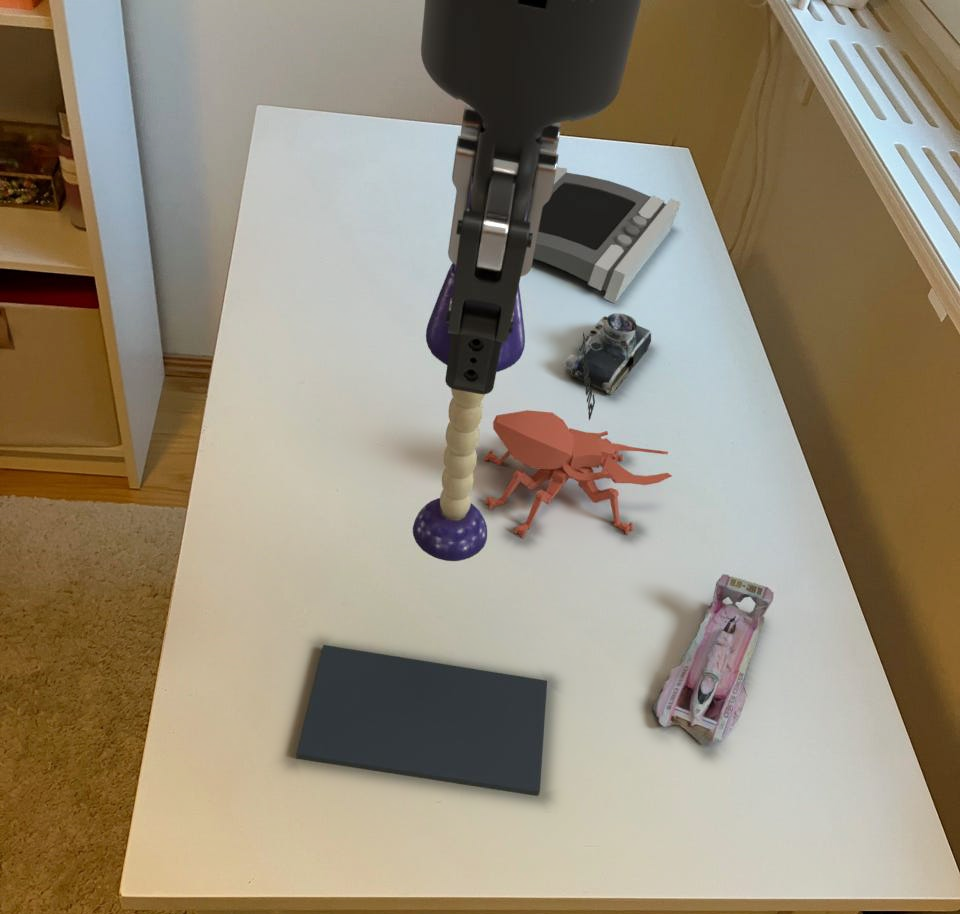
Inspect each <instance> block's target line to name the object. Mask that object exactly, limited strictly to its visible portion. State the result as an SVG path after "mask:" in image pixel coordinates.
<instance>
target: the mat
mask: <svg viewBox="0 0 960 914" xmlns="http://www.w3.org/2000/svg"><path fill="white" fill-rule="evenodd" d="M319 656H320V657H319V661H318V665H317V668H316V673H315V677H314V681H313V685H312V689H311V693H310V697H309V701H308V705H307V709H306V714H305V718H304V722H303V726H302V730H301V734H300V738H299V743H298V746H297V750H296V759H297V760H304V761H311V762H317V763H322V764H329V765H336V766H344V767H350V768H355V769H362V770H369V771H375V772H381V773H382V772H383V773H388V774H395V775H400V776H401V775H402V776H407V777H414V778H420V779H428V780H433V781H440V782H447V783H452V784H458V785H466V786H472V787H479V788H485V789H491V790H497V791H505V792H509V793H510V792H512V793H516V794H517V793H518V794H525V795H531V796H537V797H538V796H539V795H540V793H541V781H542V766H543V752H544V736H545V735H544V734H545V720H546V708H547V707H546V706H547V705H546V704H547V691H548V680H545V679H539V678H532V677H528V676H521V675H515V674H508V673H501V672H497V671H490V670H483V669H477V668H471V667H465V666H458V665H452V664H446V663H439V662H433V661H427V660H421V659H416V658H415V659H414V658H408V657H402V656H395V655H390V654H384V653H383V654H382V653H377V652H371V651H365V650H358V649H353V648H352V649H351V648H348V647H347V648H345V647H339V646H334V645H327V644H323V645H322V648H321V652H320V655H319Z"/></svg>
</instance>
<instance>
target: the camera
mask: <svg viewBox="0 0 960 914" xmlns="http://www.w3.org/2000/svg"><path fill="white" fill-rule="evenodd" d="M636 322H637V320H636V319H634V318H633V317H632V316H630V315H628V314H626V313H620V312H619V313H618V312H615V313H611V314H609V315H608V316H605V315H604V316H603V317H601V318H600V319H599V320H598V321H597V323H596V324H595V325H594V326H593V327H592V328H591V329H590V330H589V332H587V334H586V336H585V341H584V343H585V344H586V345H585V348H586V354H587V360H586V362H587V361H588V364H587V365H588V370H589V375H588V377H589V378H590V386H591V387H594V388H597V389H598V390H600V391H603V392H605V393H607V394H609V395H613V394H614V393H615V391H616V390H617V389H618V388H619V387H620V385H622V383H623V382H624V381H625V379H626V378H627V377H628V375H629V374H630V373H631V371H632V369H634V368H635V366H636V365H637V364H638V363H639V361H640V360H641V359H642V357H643V356H644V355H645V354H646V353H647V351H648V349H649V347H650V345H651V342H652V332H651V330H650V329H647V328H645V327H643V326H640V325H638V324H637V323H636ZM581 347H582V343H581V344H580V346H579V347H578V352H579V355H578V356H576V355H574V354H571V353H570V355H569V356H568V357H567V359H566V363H565V368H566V369H567V370H570V373H571V376H572V377H575V378H576V379H577V380H580V381H582V382H584V383H585V380H586V379H585V380H584V376H585V375H583V372H584V368H583V364H584V361H583V364H582V360H583V356H582V358H581V355H582V351H583V349H582V351H581ZM583 347H584V345H583ZM584 352H585V349H584ZM586 354H585V356H586ZM584 360H585V358H584ZM584 366H585V365H584ZM586 371H587V367H586ZM586 371H585V374H586ZM587 380H588V378H587ZM586 383H587V382H586ZM588 385H589V382H588Z"/></svg>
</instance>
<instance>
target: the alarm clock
mask: <svg viewBox="0 0 960 914" xmlns="http://www.w3.org/2000/svg"><path fill="white" fill-rule="evenodd" d="M681 204H682V202H679V201H678V200H676V199H674V198H670V199H669V201H667V203H665V200H664V199H662V198H660V197H657V196H655V195H654V194H652V195H651V196H650V195H648V194H646V193H643V192H641V191H639V190H637V189H634V188H631V187H629V186H626V185H623V184H620V183H616V182H614V181H611V180H608V179H603V178H597V177H593V176H591V175H590V176H589V175H584V174H578V173H571V172H568V168H566V167H560V166H557V169H556V174H555V179H554V185H553V190H552V195H551V198H550V199H549V201H548V202H547V203H546V204H545V205H544V206H543V208H542V214H541V219H540V224H539V230H538V235H537V240H536V246H535V251H534V257H533V260H536V261H540V262H543V263H545V264H548V265H550V266H553V267H554V268H555V267H556V268H557V269H559V270H562V271H565V272H567V273H569V274H571V275H573V276H575V277H577V278H579V279H581V280H583V281H585V282H587V285H588V286H590V287H592V288H594V289H596V290H598V291H600V292H601V291H602V290H603V291H605V294H604V296H603V299H604V300H606V301H608V302H610V303H612V304H615V303H616V302H617V301H618V300H619V298H620V297H621V296H622V295H623V293H624V292H625V291H626V289H627V288H628V287H629V285H630V284H631V282H632V281H633V280H634V279H635V278H636V276H637V275H638V273H639V272H640V271H641V270H642V268H643V267H644V266H645V264H647V262H648V260H649V259H650V258H651V256H652V255H653V254H654V253H655V252H656V250H657V249H658V248H659V246H660V245H661V243H662V242H663V241H664V239H665V238H666V237H667V236H668V234H669V233H670V232H671V229H672V227H673V224H674V222H675V219H676V217H677V215H678V211H679V209H680V207H681ZM525 221H526V220H525ZM672 223H673V224H672ZM669 227H670V228H669Z"/></svg>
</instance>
